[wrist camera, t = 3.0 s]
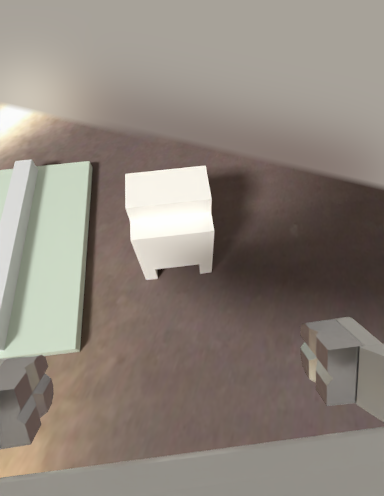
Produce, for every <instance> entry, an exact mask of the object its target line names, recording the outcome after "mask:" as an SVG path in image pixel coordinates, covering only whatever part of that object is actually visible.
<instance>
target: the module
mask: <svg viewBox="0 0 384 496" xmlns="http://www.w3.org/2000/svg"><path fill="white" fill-rule="evenodd" d="M211 205H212V198H211V192H210V187H209V182H208V176H207V171H206V166H197V167H187V168H178V169H168V170H159V171H149V172H139V173H130V174H125V208H126V211H127V214H128V217H129V220H130V236H131V243H132V245H133V248H134V250H135V253H136V255H137V258H138V260H139V263H140V265H141V268H142V271H143V273H144V276H145V278H146V280H150V279H158V271H157V269H163V268H172V267H180V266H189V265H198V264H199V270H200V274H202V273H211V272H212V259H213V244H214V226H213V220H212V215H211Z"/></svg>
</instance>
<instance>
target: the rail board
mask: <svg viewBox="0 0 384 496" xmlns="http://www.w3.org/2000/svg"><path fill="white" fill-rule="evenodd" d="M92 169H93V168H92V166H91V163H90V161H85V162H76V163H66V164H56V165H46V166H36V165H35V164H34V162H33V161H32V160H22V161H15V164H14V168H13V169H7V170H0V359H3V358H13V357H23V356H33V355H43V356H48V355H56V354H65V353H73V352H80V345H81V330H82V315H83V301H84V286H85V271H86V257H87V242H88V228H89V213H90V198H91V184H92Z"/></svg>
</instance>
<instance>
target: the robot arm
mask: <svg viewBox="0 0 384 496" xmlns="http://www.w3.org/2000/svg"><path fill="white" fill-rule="evenodd" d="M300 336H301V337H302V339H303V340H304V341H305V342H304V344H303V345H302V347H301V348H300V351H301V361H302V365H303V368H304V371H305V373H306V375H307V376H308V378H309V379H311V380H312V381H314V382H316V390H317V392H318V393H319V395H320V396H321V398H322V399H323V401H324V403H325V404H326V406H331V405H341V404H351V403H356V404H357V405H358V406H360V407H361V408H363V409H364V410H366V411H367V412H369V413H370V414H372V415H373V416H375V417H376V418H378V419H379V420H381V421H382V422H384V344H382V343H381V342H380V341H379V340H378V339H376V338H375V337H374V336H373V335H372V334H370V333H369V332H368V331H367V330H366V329H364V328H363V327H362V326H361V325H360V324H358V323H357V322H356V321H355V320H354V319H352V318H350V317H343V318H337V319H330V320H323V321H317V322H310V323H304V324H301V328H300ZM47 368H48V365H47V361H46V358H45V357H44V356H43V355H33V356H23V357H13V358H3V359H0V449H5V448H11V447H17V446H24V445H30V444H31V443H32V441H33V439H34V437H35V435H36V433H37V432H38V430H39V428H40V426H41V421H40V418H41V417H42V416H43V415H44V414H46V413H47V412H48V410H49V408H50V406H51V404H52V399H53V384H52V379H51V378H50V377H49V376H47V375H46V374H45V372H46V370H47ZM0 496H384V427H379V428H372V429H364V430H357V431H349V432H342V433H334V434H327V435H319V436H312V437H304V438H297V439H289V440H282V441H274V442H267V443H259V444H252V445H244V446H237V447H229V448H222V449H214V450H207V451H199V452H192V453H184V454H176V455H169V456H161V457H154V458H146V459H139V460H131V461H124V462H116V463H109V464H101V465H94V466H86V467H79V468H71V469H64V470H56V471H48V472H41V473H33V474H26V475H18V476H11V477H3V478H0Z"/></svg>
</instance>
